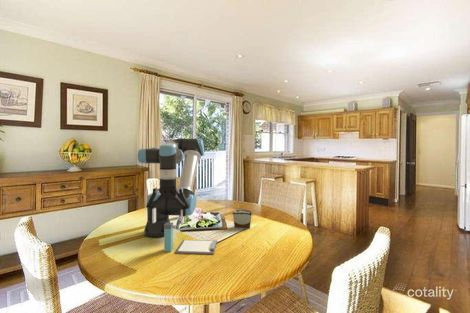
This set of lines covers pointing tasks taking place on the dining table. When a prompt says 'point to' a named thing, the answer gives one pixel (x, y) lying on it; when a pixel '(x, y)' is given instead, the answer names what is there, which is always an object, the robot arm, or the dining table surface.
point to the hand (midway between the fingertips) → (168, 222)
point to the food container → (242, 218)
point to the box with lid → (168, 237)
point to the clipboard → (197, 247)
